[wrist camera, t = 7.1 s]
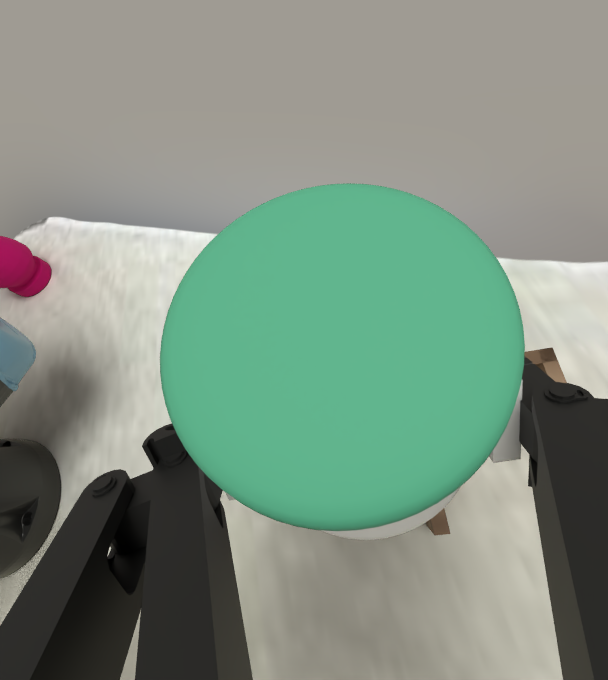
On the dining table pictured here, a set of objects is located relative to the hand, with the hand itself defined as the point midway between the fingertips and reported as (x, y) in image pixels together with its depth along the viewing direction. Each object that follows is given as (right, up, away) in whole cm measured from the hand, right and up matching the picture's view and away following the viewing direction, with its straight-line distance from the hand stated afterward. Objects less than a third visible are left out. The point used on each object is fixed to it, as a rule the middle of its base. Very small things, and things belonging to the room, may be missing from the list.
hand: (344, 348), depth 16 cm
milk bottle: (+2, -6, +7) cm, 9 cm away
